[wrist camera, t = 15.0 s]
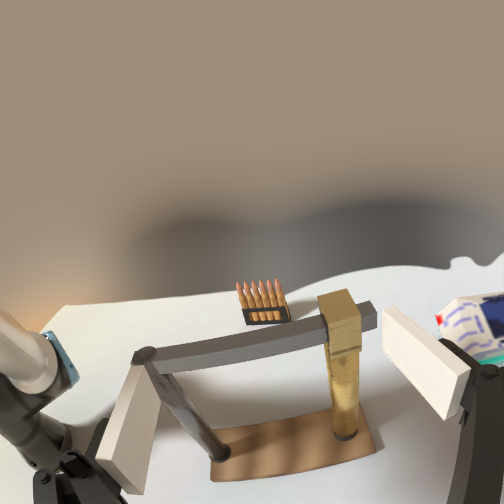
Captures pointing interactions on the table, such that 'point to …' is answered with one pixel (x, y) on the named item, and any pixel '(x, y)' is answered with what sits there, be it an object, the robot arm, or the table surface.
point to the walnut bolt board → (288, 447)
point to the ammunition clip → (263, 304)
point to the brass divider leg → (342, 358)
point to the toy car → (476, 326)
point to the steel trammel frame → (224, 353)
